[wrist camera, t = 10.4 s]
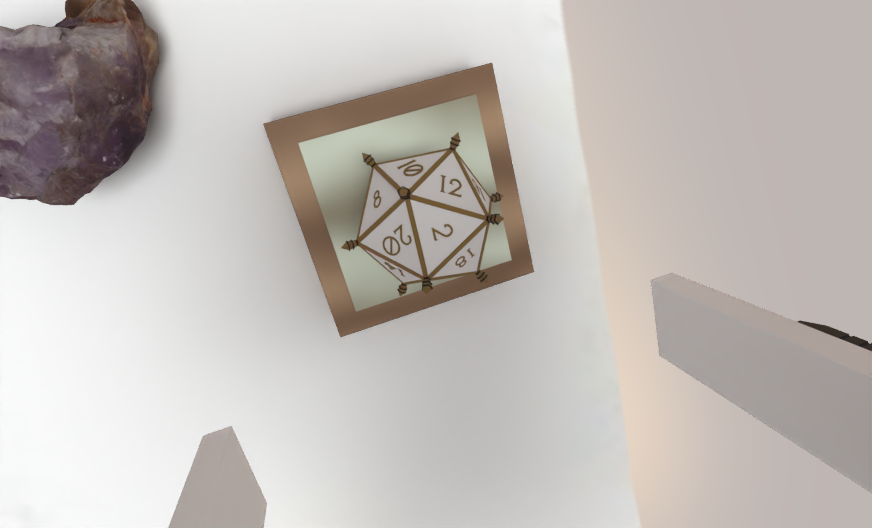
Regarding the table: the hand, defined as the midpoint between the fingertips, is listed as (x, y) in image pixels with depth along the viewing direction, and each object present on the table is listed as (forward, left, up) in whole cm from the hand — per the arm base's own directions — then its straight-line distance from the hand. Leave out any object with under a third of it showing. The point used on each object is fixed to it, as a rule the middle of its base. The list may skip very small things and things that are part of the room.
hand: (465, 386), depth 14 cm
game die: (+2, -2, -18) cm, 18 cm away
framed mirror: (+2, -2, -22) cm, 22 cm away
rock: (+13, +14, -22) cm, 29 cm away
